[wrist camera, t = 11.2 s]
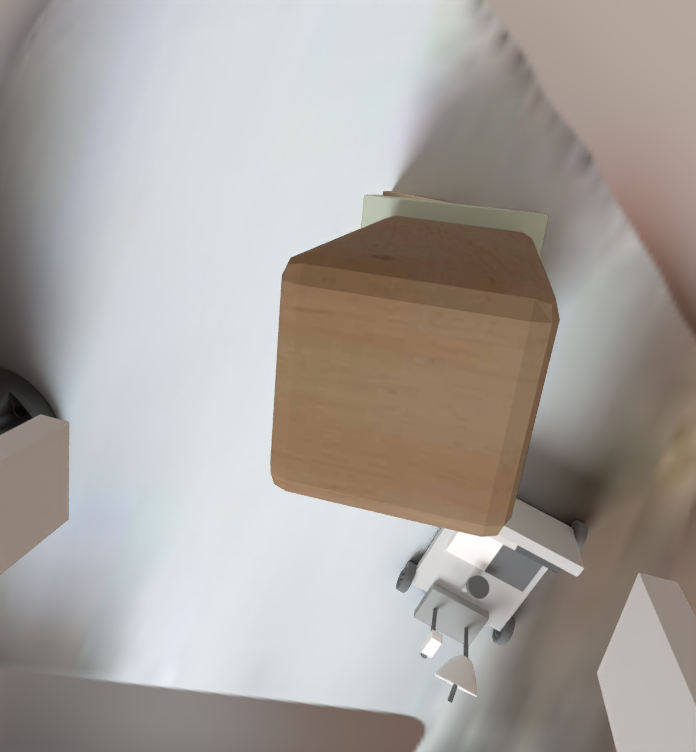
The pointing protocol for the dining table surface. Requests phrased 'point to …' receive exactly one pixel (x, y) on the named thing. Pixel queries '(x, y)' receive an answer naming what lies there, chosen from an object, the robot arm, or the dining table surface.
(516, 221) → the tower top
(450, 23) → the dining table surface
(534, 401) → the wooden block
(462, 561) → the white toy machine
